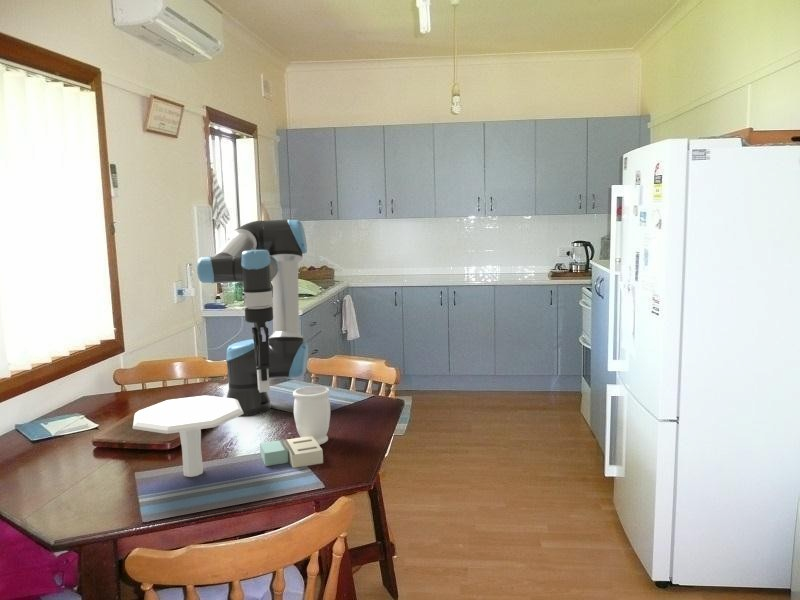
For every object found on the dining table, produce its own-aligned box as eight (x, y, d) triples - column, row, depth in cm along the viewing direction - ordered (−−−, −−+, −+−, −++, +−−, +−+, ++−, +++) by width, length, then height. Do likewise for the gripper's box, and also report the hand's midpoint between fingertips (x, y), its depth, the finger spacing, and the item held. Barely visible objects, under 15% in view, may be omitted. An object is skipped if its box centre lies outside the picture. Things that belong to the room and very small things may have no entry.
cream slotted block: (284, 452, 175) (283, 439, 174) (312, 447, 178) (312, 435, 177) (292, 468, 164) (292, 454, 163) (323, 462, 166) (322, 449, 166)
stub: (260, 455, 173) (259, 442, 172) (282, 452, 175) (282, 439, 174) (265, 466, 165) (264, 452, 165) (288, 462, 167) (287, 449, 167)
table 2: (161, 453, 177) (156, 395, 175) (261, 451, 176) (257, 392, 174) (113, 498, 149) (106, 429, 147) (231, 496, 148) (226, 427, 146)
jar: (325, 448, 177) (322, 396, 175) (289, 447, 179) (287, 395, 177) (336, 435, 187) (334, 385, 185) (303, 434, 189) (300, 384, 187)
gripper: (241, 304, 179) (246, 385, 182) (248, 311, 166) (253, 399, 169) (268, 302, 182) (272, 382, 185) (277, 309, 168) (282, 395, 171)
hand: (263, 390), depth 177 cm, fingers closed
